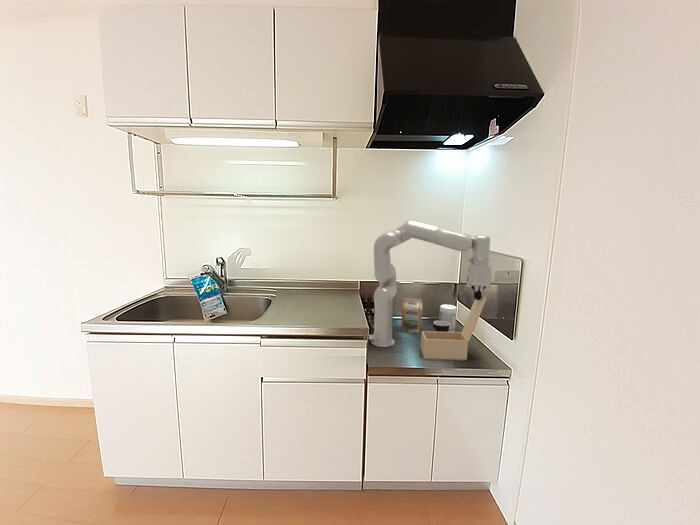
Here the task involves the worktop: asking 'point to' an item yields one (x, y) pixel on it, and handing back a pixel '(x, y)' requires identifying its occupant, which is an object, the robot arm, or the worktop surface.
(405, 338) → the worktop surface
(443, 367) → the worktop surface
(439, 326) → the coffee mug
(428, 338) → the carton
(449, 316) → the supplement tub
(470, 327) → the carton flap
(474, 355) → the worktop surface
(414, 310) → the printed food package
